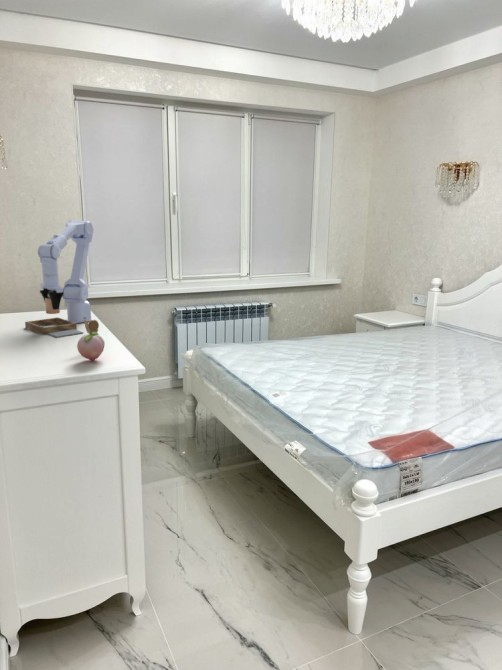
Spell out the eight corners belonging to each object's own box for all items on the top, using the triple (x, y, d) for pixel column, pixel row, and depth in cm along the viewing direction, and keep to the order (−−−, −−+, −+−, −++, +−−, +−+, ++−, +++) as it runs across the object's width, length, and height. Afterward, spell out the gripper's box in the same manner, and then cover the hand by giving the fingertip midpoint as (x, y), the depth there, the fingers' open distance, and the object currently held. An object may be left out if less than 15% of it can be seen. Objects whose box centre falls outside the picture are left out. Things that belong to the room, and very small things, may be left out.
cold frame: (58, 323, 216) (57, 317, 215) (76, 329, 205) (76, 323, 205) (25, 327, 206) (25, 321, 205) (43, 334, 195) (42, 328, 195)
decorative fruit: (82, 356, 167) (80, 327, 165) (107, 356, 168) (105, 328, 166) (74, 365, 158) (72, 334, 156) (100, 365, 159) (99, 334, 157)
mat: (74, 330, 204) (74, 329, 204) (83, 333, 199) (83, 332, 199) (48, 334, 196) (48, 333, 196) (56, 337, 191) (56, 336, 191)
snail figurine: (80, 349, 176) (78, 316, 173) (93, 345, 181) (92, 313, 179) (91, 351, 173) (90, 318, 171) (105, 347, 179) (103, 315, 176)
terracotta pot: (56, 311, 206) (54, 289, 204) (62, 312, 202) (60, 291, 200) (43, 312, 202) (42, 290, 200) (49, 314, 198) (48, 292, 196)
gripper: (32, 273, 200) (34, 306, 204) (49, 277, 191) (51, 312, 194) (49, 272, 205) (51, 304, 209) (66, 275, 196) (68, 309, 199)
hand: (52, 308), depth 202 cm, fingers closed on terracotta pot, 5 cm apart
